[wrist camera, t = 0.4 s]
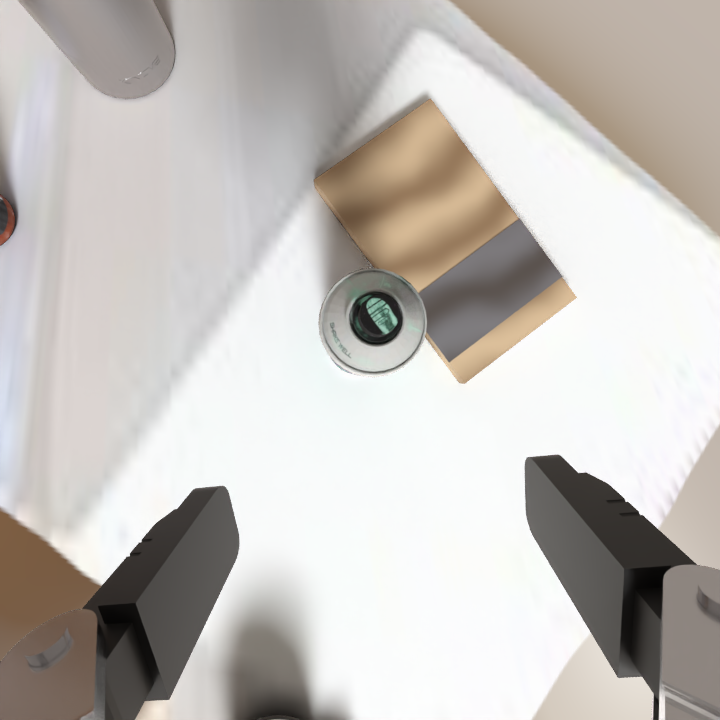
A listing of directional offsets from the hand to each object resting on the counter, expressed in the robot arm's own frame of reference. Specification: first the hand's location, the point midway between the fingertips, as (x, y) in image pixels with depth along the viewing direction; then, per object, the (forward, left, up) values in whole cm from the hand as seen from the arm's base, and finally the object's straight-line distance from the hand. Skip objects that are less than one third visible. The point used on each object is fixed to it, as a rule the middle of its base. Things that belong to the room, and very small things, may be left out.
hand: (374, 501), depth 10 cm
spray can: (-4, +4, -25) cm, 26 cm away
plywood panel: (-7, +17, -25) cm, 31 cm away
